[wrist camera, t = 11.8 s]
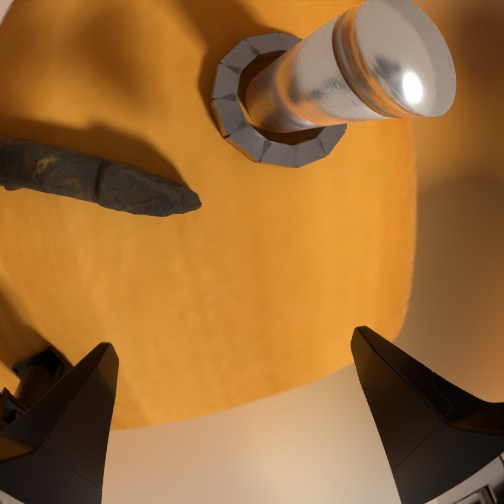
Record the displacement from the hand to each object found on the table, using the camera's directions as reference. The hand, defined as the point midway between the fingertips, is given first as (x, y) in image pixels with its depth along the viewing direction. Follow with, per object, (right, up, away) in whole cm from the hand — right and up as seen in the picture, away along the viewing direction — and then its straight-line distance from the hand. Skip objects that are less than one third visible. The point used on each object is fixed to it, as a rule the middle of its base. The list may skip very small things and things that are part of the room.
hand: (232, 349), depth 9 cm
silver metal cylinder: (+3, +14, +9) cm, 17 cm away
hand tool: (-12, +9, +6) cm, 16 cm away
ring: (+3, +14, +9) cm, 17 cm away
